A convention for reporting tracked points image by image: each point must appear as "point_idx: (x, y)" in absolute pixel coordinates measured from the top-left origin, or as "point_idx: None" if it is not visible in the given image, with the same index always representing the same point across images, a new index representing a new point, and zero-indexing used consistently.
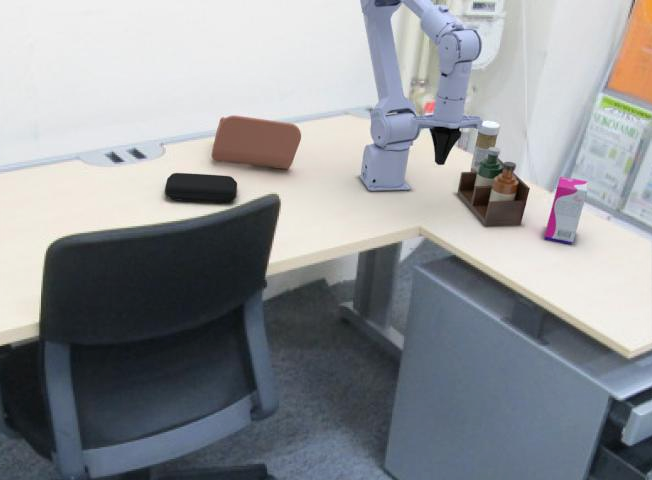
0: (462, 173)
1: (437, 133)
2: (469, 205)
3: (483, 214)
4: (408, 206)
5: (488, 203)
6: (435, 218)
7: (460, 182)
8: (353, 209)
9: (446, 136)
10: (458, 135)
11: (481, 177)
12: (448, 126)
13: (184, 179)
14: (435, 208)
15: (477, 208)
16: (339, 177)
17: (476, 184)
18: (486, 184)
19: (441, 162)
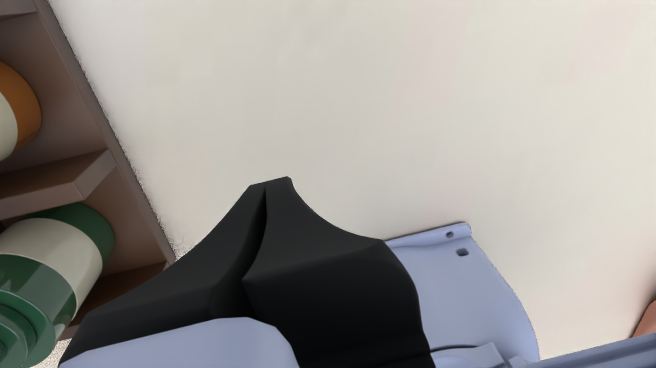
0: None
1: (399, 296)
2: (125, 166)
3: (52, 67)
4: (356, 135)
5: (22, 119)
6: (264, 45)
7: None
8: (559, 74)
9: (275, 270)
10: (103, 316)
11: (51, 263)
12: (287, 361)
13: None
14: (258, 137)
15: (85, 125)
16: (526, 289)
17: (87, 252)
18: (32, 237)
19: (270, 182)
